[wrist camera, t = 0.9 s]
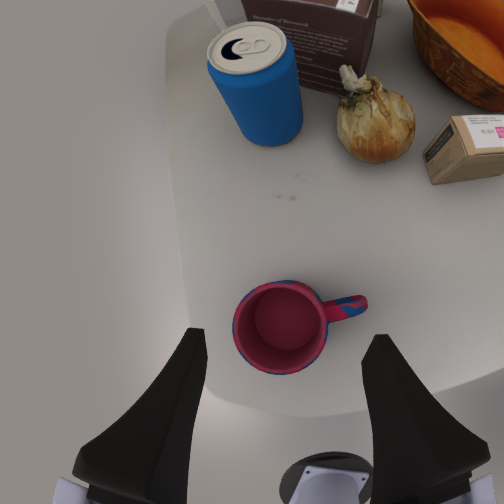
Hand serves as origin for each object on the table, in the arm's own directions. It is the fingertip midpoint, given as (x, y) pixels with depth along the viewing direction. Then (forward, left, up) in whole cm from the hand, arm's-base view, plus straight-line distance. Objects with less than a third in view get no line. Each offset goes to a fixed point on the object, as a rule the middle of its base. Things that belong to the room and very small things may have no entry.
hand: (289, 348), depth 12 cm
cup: (0, 0, -15) cm, 15 cm away
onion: (+18, -3, -15) cm, 23 cm away
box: (+28, +3, -15) cm, 32 cm away
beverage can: (+18, +7, -15) cm, 24 cm away
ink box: (+18, -14, -15) cm, 27 cm away
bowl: (+33, -16, -15) cm, 39 cm away
